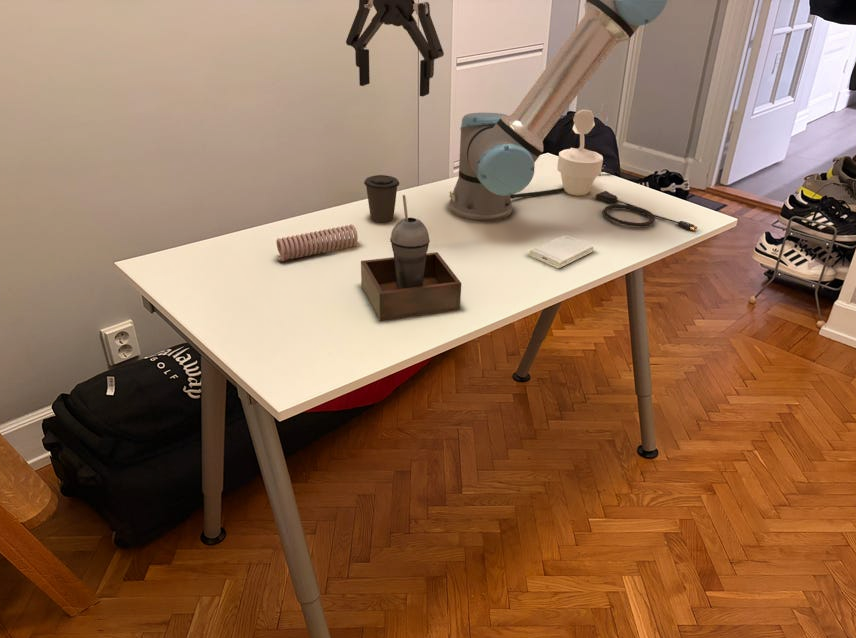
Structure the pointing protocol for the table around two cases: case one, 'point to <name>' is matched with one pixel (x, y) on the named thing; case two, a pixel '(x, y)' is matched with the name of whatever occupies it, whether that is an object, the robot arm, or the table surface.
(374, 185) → the coffee cup
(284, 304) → the table surface
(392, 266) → the box
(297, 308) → the table surface
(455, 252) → the table surface
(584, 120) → the potted plant
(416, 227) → the beverage cup
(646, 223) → the cable
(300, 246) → the coil
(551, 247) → the hard drive
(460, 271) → the table surface
